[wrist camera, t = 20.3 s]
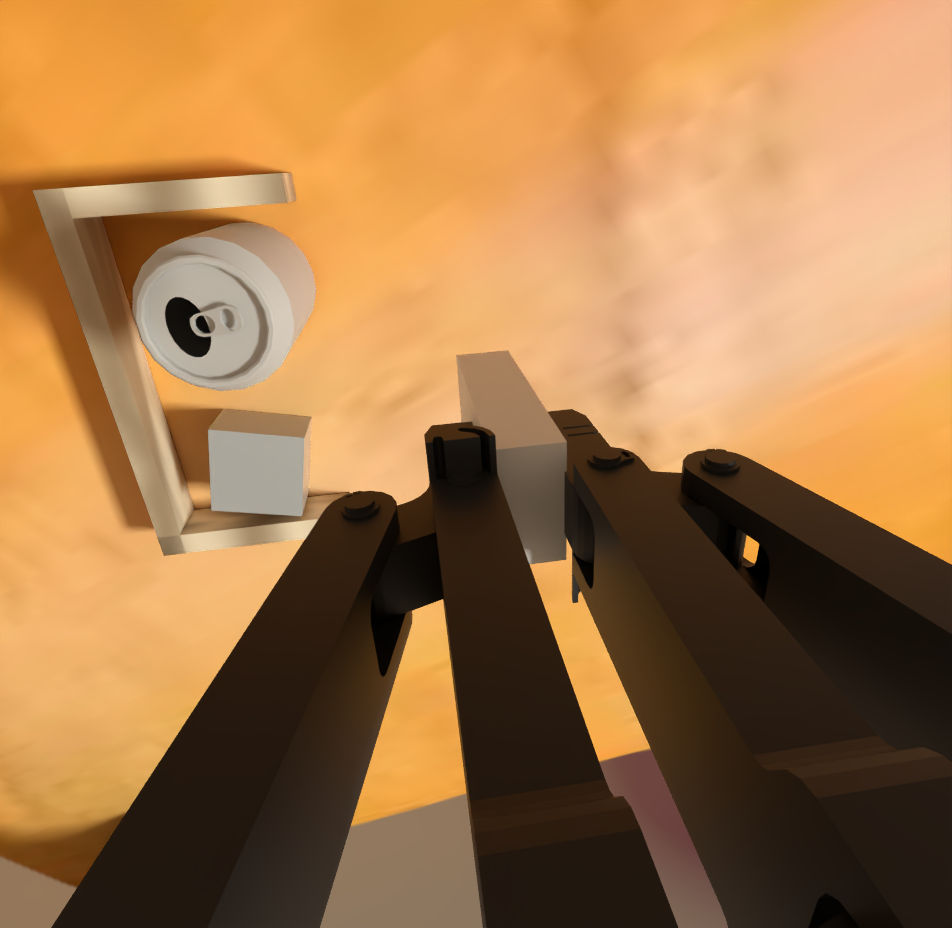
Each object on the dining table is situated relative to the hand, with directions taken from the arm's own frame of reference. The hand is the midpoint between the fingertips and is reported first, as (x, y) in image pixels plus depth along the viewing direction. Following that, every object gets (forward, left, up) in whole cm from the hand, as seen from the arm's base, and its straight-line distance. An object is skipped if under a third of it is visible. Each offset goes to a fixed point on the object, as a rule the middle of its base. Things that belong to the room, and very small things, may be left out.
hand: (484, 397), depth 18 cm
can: (-11, 0, -25) cm, 27 cm away
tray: (-14, -5, -24) cm, 29 cm away
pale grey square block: (-13, -11, -25) cm, 30 cm away
